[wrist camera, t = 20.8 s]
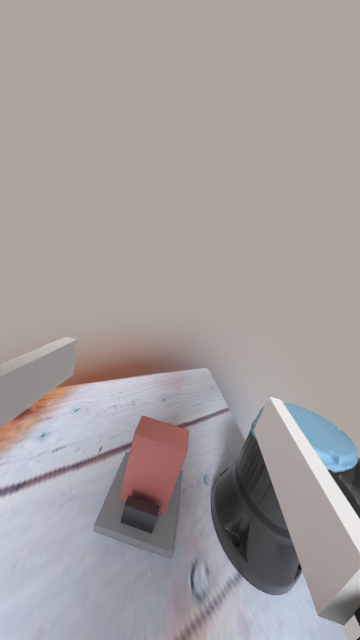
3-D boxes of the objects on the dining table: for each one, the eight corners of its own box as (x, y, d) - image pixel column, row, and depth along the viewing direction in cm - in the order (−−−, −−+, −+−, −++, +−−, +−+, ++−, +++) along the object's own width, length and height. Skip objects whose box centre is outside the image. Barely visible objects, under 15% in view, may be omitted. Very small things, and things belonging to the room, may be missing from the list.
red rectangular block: (168, 489, 32) (188, 430, 28) (165, 514, 28) (187, 450, 25) (127, 475, 32) (142, 415, 29) (119, 498, 29) (134, 433, 25)
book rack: (179, 475, 36) (186, 455, 34) (170, 558, 25) (179, 535, 24) (125, 457, 36) (129, 437, 35) (93, 530, 26) (98, 506, 24)
